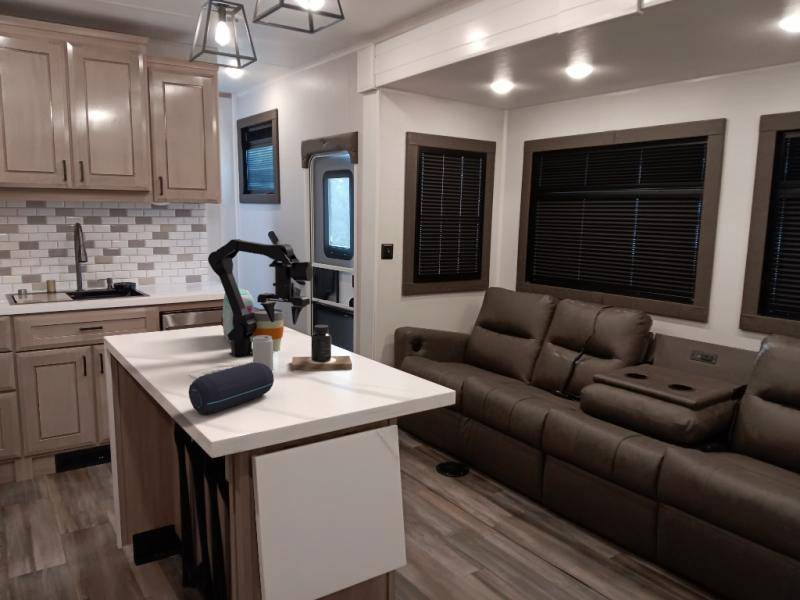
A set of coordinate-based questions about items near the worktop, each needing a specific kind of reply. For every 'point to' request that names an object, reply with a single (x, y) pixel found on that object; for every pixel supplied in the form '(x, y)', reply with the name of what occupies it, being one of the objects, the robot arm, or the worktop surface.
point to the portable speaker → (230, 387)
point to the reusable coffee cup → (270, 326)
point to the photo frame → (206, 372)
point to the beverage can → (263, 350)
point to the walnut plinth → (322, 363)
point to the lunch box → (228, 313)
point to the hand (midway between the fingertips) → (283, 323)
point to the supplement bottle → (321, 344)
